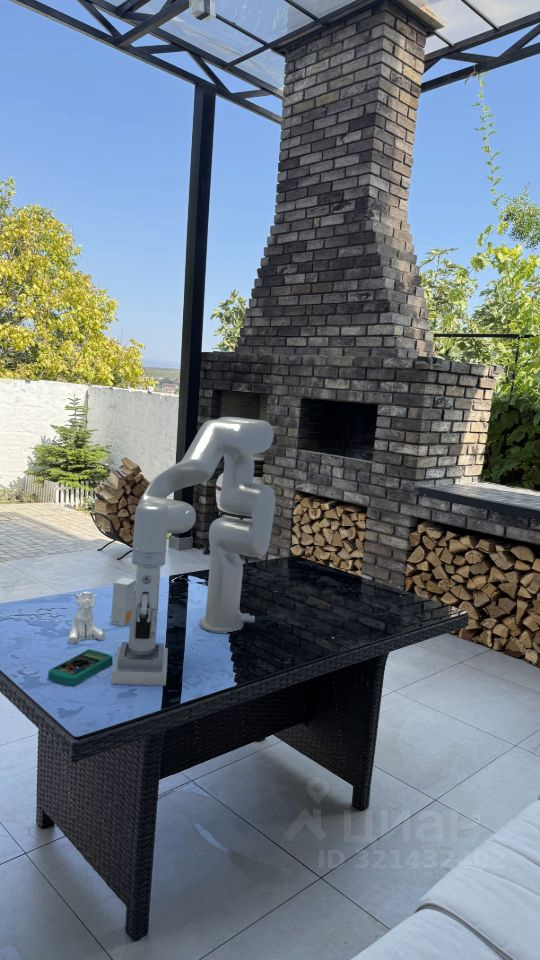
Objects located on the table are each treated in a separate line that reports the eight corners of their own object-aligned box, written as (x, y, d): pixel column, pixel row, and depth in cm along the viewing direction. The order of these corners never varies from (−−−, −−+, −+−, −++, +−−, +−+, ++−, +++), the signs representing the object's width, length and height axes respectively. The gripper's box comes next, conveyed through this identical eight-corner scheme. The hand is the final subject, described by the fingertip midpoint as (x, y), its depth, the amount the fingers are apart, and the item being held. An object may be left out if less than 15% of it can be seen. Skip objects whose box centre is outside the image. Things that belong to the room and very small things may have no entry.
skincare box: (124, 626, 175) (127, 584, 173) (110, 624, 175) (113, 582, 174) (133, 619, 180) (136, 579, 179) (119, 617, 181) (122, 576, 180)
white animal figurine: (68, 645, 159) (71, 599, 157) (60, 633, 166) (62, 588, 164) (105, 640, 164) (108, 595, 162) (95, 629, 171) (98, 586, 170)
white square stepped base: (166, 659, 155) (168, 640, 155) (165, 685, 142) (167, 664, 141) (117, 658, 154) (118, 638, 153) (110, 684, 140) (112, 662, 139)
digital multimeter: (45, 681, 139) (46, 668, 139) (87, 658, 153) (88, 646, 153) (72, 689, 137) (73, 676, 136) (113, 665, 150) (114, 653, 150)
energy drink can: (152, 644, 151) (157, 583, 149) (156, 654, 145) (161, 591, 143) (127, 645, 149) (131, 583, 147) (129, 655, 143) (134, 591, 141)
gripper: (164, 568, 136) (158, 647, 139) (166, 549, 153) (160, 620, 155) (129, 566, 135) (123, 646, 137) (134, 547, 152) (129, 619, 154)
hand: (143, 632), depth 146 cm, fingers closed on energy drink can, 6 cm apart
